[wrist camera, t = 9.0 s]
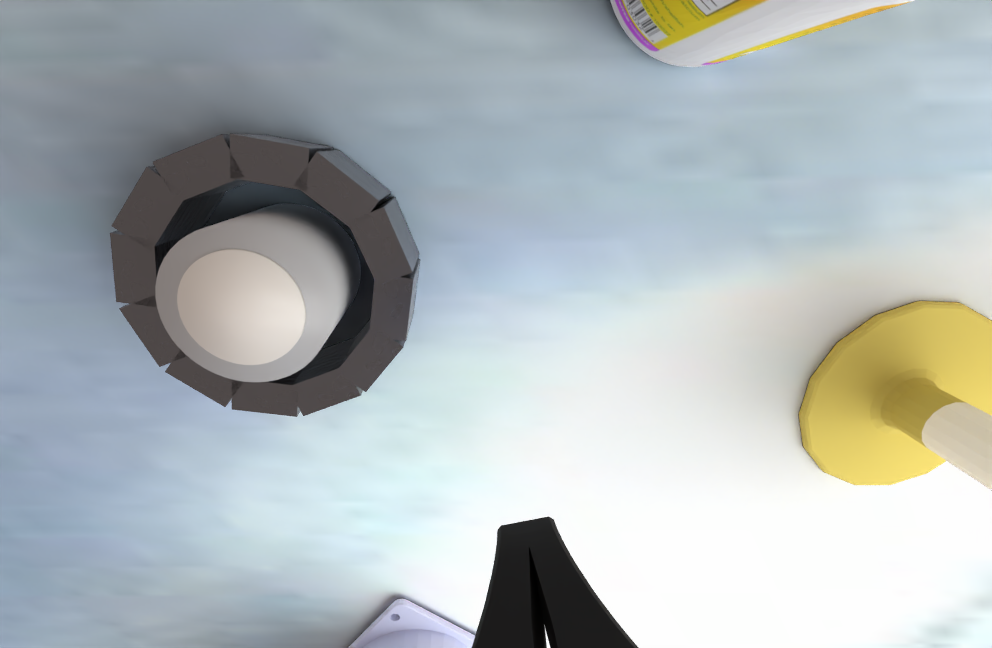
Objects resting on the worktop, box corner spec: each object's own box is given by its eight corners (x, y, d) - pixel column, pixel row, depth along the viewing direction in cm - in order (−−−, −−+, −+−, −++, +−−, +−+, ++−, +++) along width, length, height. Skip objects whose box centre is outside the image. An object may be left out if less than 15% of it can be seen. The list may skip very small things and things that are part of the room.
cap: (317, 348, 20) (273, 412, 16) (207, 278, 19) (121, 325, 14) (385, 256, 19) (360, 295, 14) (272, 175, 18) (202, 187, 13)
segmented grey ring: (330, 416, 22) (311, 457, 19) (120, 285, 19) (60, 310, 16) (466, 251, 19) (467, 270, 17) (249, 78, 17) (207, 65, 14)
